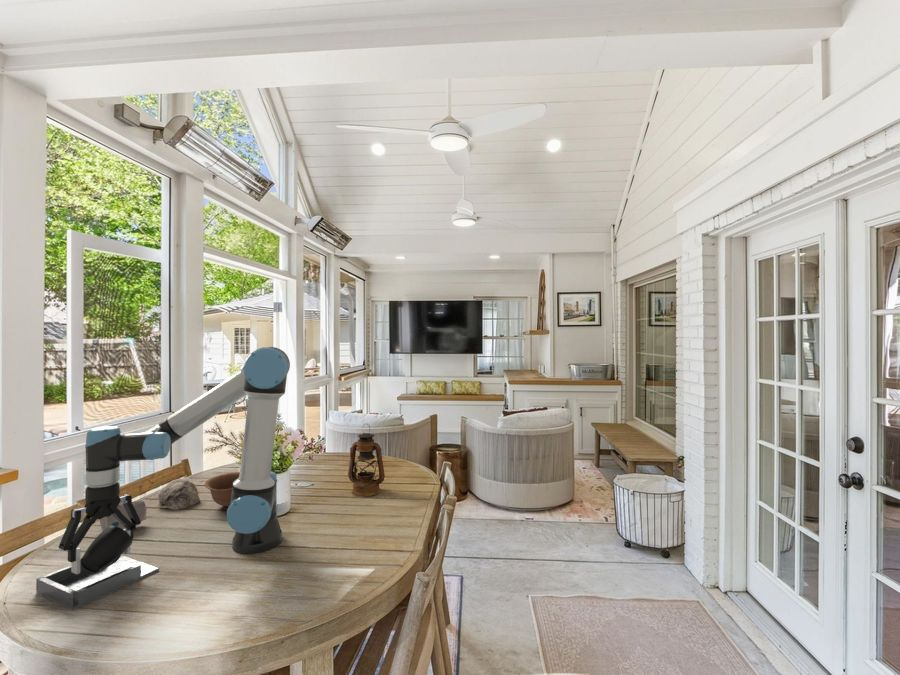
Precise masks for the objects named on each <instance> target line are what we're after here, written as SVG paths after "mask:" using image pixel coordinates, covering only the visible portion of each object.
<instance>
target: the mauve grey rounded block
mask: <svg viewBox="0 0 900 675" xmlns="http://www.w3.org/2000/svg"><path fill="white" fill-rule="evenodd" d="M132 504H133V506H134V508H135V510H136V512H137V514H138V516H139V519H140V521H141V522H143V521H145V520H147V510H148V509H147V508H148V507H147V506H146V503H145V501H144V500H135V501H134V500H133V501H132ZM117 508H118V509H119V510H120V511H121V513H122V514H123V515H124V516H125V517H126V518H127V519H128V520H129V521H130V522H131V520H130V518H129V516H128V514H127V512H126V510H125V508H124V506H123V503H121V502H120V503H119V505H118V506H117ZM99 523H100V525H99V526H100V528H101V532H102V531H103V530H104V529H105V528H107V527H108V526H116V527H119V528H121V529H126V528H125V527H124V526H123V525H122V524H121V523H120V522H119V521H118V520H117V519H116V518H115V517H114V516H113V515H112V514H111V516H108V517H104V518H102V519H99Z"/></svg>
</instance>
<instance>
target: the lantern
mask: <svg viewBox="0 0 900 675" xmlns="http://www.w3.org/2000/svg"><path fill="white" fill-rule="evenodd" d="M364 425H367V426H368V427H369V432H367V433H365V432H362V433H360V434H358V435H357V437H358V438H359V439H358V440H357V441H356V442H354V443H352V444H351V447H349V448H350V450H349V454H350V455H349V456H350V457H349V464H348V470H347V471H348V472H347V477H348V479H349V481H350V482H352V483H353V484H352V489H351V492H350V494H351V493H352V494H353V495H352V494H351V495H352V496H354V495H355V496H354V497H358V496H364V497H365V496H369V497H372V496H371V495H374V496H376V495H375V494H377V495H379V494H380V493H381V492H382V490H381V488H380V484H382V483H383V482H384V480H385V476H386V475H385V469H384V468H385V467H384V461H383V457H382V448H381V446H380V444H379V443H377V442H375V439H374V437H375V436H376V435H375V434H373V433H370V432H371V427H370V425H369V424H368V423H364V424H363V426H362V427H364ZM374 451H375V455H376V457H375V455H374V454H373V453H374ZM357 452H359V455H358V456H357V460H356V454H357ZM375 458H376V460H375ZM355 460H356V461H355ZM372 460H373V461H372ZM368 461H371V462H368ZM358 462H362V463H366V464H367V465H366V466H364V467H363V468H362V467H361V466H359V465H358ZM373 464H375V466H374V465H373ZM370 466H371V467H372V468H373V469H374V470H373V471H367V470H365V469H367V468H368V467H370ZM377 467H378V474H376V470H377ZM358 470H360V471H359V472H358ZM377 477H378V478H377ZM380 491H381V492H380ZM379 492H380V493H379ZM378 493H379V494H378Z"/></svg>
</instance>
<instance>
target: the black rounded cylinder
mask: <svg viewBox="0 0 900 675" xmlns="http://www.w3.org/2000/svg"><path fill="white" fill-rule="evenodd" d="M132 544H133V540H132V538H131V536H130V535H129V534H128V533H127V532H126V531H125V530H123V529H121V528H119V527H116V526H108V527H107V528H105V529H104V530H103V531H102V530H101V532H100V533H99V534H98V535H97V536H96V537H95V538H94V540H93V541H92V542H91V543H90V545H89V546H88V548H87V549H86V551H85V552H84V553H83V555H82V557H80V563H81V565H82V566H83V567H84V568H85V569H86V570H88V571H90V572H94V573H96V572H99V571H101V570H103V569H105V568H107V567H108V566H110V565H112V564H114V563H115V562H116V561H117V560H118V559H119V558H120V557H121V556H123V554H125V553H124V552H125V551H126V549H127V548H128V547H129V546H130V547H131V545H132Z"/></svg>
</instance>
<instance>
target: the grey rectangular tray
mask: <svg viewBox="0 0 900 675" xmlns="http://www.w3.org/2000/svg"><path fill="white" fill-rule="evenodd" d="M159 571H160V567H157V566H156V565H155V566H154V565H152V564H148V563H146V562H142V561H139V560H137V559H133V558H132V557H128V556H124V555H121V556H120V558H119V559H118V560H117V561H116V562H115V563H114V564H112V565H110V566H108V567H107V568H105V569H103V570H101V571H99V572H96V573H94V572H90V571H88V570H86V569H85V568H84V567H83V566H82V565H81V563H80V573H79V574H75V573H72V572H71V565H68V566H65V567H63V568H61V569H58V570H55V571H52V572H50V573H48V574H45V575H42V576H40V577H37V578H36V581H35V583H36V584H35V586H36V591H35V592H36V593H35V594H37V595H38V596H40V597H42V598H45V599H47V600H49V601H51V602H53V603H55V604H58V605H60V606H61V607H64V608H66V609H68V610H70V611H72V612H73V611H76V610H78V609H80V608H82V607H83V606H86V605H88V604H91V603H92V602H95V601H97V600H99V599H101V598H103V597H105V596H108V595H110V594H112V593H115V592H116V591H119V590H121V589H123V588H125V587H127V586H129V585H131V584H134V583H135V582H138V581H139V580H142V579H144V578H146V577H149V576H150V575H153V574H156V573H157V572H159Z"/></svg>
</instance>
